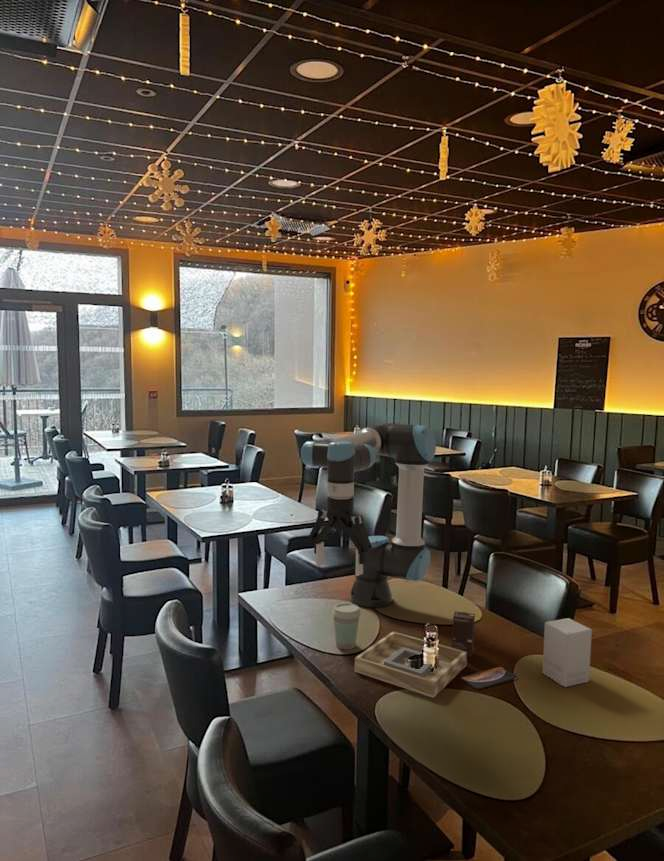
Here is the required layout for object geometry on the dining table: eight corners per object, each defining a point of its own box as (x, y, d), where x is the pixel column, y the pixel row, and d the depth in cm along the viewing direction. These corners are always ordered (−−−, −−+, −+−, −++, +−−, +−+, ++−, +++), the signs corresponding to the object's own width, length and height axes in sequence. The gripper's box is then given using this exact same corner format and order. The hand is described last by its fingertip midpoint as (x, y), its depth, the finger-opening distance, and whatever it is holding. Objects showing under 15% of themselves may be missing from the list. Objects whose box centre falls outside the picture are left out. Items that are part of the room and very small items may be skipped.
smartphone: (458, 677, 175) (500, 665, 182) (458, 680, 175) (500, 668, 182) (477, 688, 168) (519, 676, 175) (477, 692, 168) (519, 679, 175)
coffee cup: (360, 640, 198) (361, 602, 197) (358, 652, 189) (359, 613, 188) (333, 638, 199) (333, 601, 197) (330, 650, 190) (330, 612, 189)
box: (451, 655, 189) (452, 616, 187) (453, 648, 193) (454, 610, 192) (472, 658, 187) (473, 618, 186) (473, 651, 191) (475, 613, 190)
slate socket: (402, 653, 188) (402, 647, 188) (438, 664, 181) (438, 657, 181) (383, 668, 178) (383, 661, 178) (420, 680, 172) (420, 673, 172)
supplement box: (590, 682, 174) (593, 629, 172) (564, 688, 170) (567, 634, 169) (566, 667, 182) (569, 616, 181) (541, 672, 179) (543, 621, 177)
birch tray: (392, 643, 196) (392, 631, 195) (466, 665, 182) (467, 652, 182) (354, 671, 178) (354, 657, 177) (433, 697, 164) (434, 683, 164)
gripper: (297, 492, 183) (296, 564, 186) (371, 504, 169) (369, 582, 171) (312, 488, 190) (311, 558, 192) (385, 500, 175) (383, 575, 178)
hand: (339, 569), depth 182 cm, fingers open, 13 cm apart
